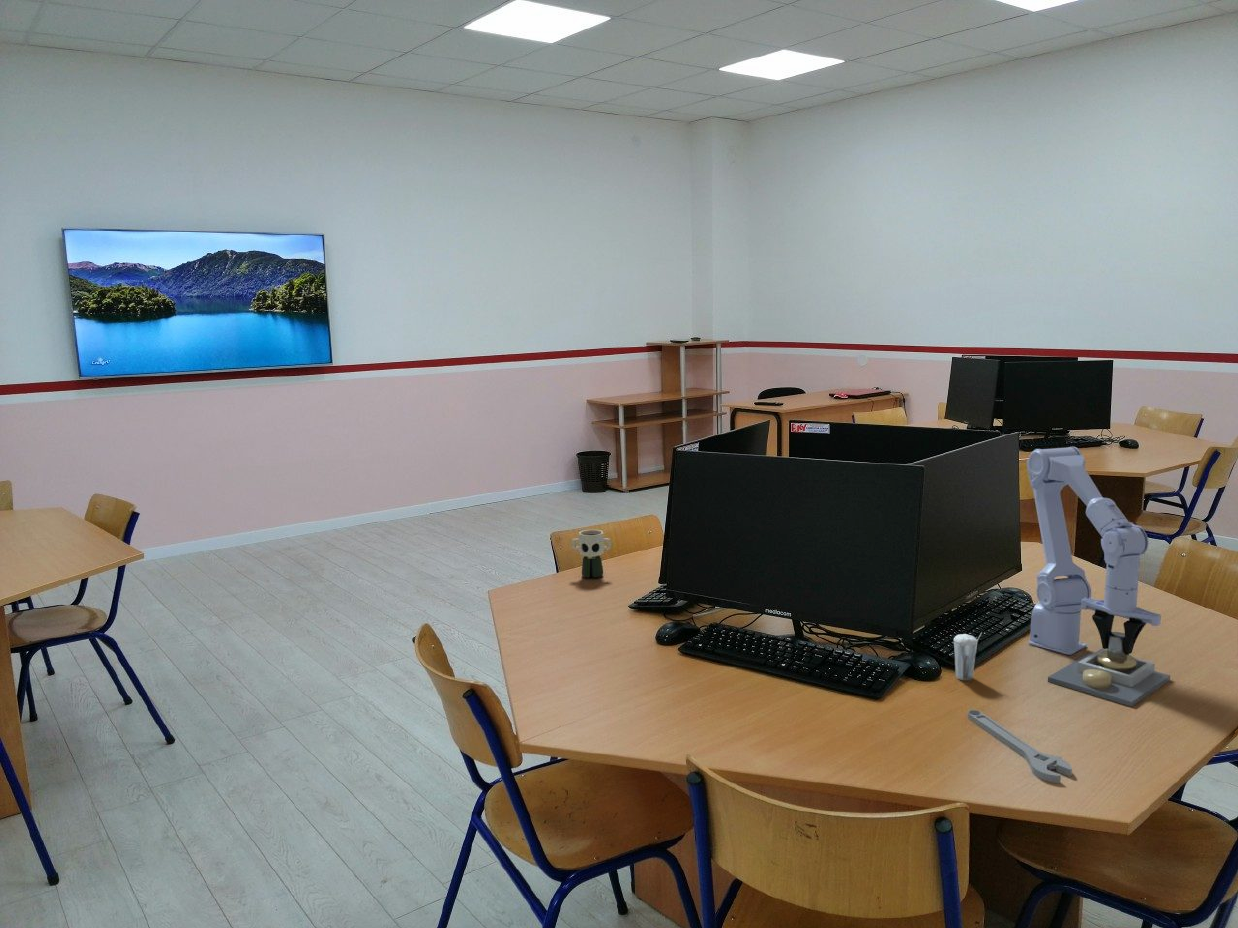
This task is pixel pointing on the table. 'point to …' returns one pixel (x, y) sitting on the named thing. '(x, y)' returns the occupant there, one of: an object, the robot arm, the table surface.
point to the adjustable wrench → (1024, 749)
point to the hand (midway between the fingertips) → (1117, 650)
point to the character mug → (591, 551)
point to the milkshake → (965, 656)
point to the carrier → (1110, 679)
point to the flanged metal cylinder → (1116, 654)
